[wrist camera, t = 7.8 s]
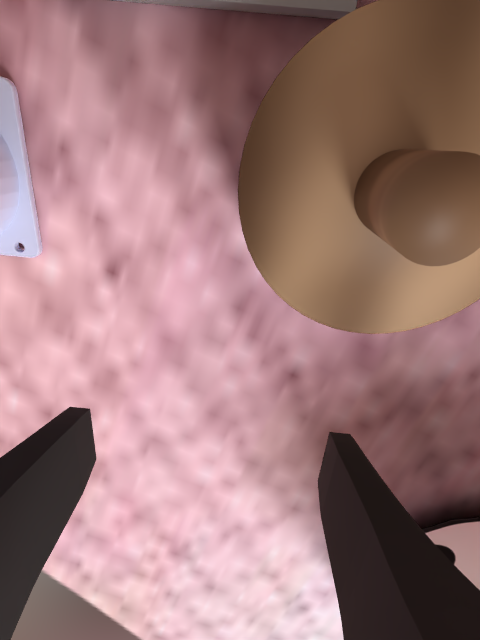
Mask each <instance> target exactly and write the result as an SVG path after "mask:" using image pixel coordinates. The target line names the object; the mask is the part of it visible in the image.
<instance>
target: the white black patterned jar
mask: <svg viewBox="0 0 480 640" xmlns="http://www.w3.org/2000/svg"><path fill="white" fill-rule="evenodd" d="M422 530H423V531H424V532H425V534H426V535H427V536H428V537H429V538H430V539H431V540H432V542H433V543H434V544H435V545H436V546H437V547H438V548H439V549H440V550H441V551H442V552H443V553H444V554H445V556H446V557H447V558H448V559H449V560H450V561H451V562H452V563H453V564H454V565H455V566H456V567H457V568H458V569H459V570H460V571H461V572H462V573H463V574H464V575H465V576H466V577H467V578H468V579H469V580H470V581H471V582H472V583H473V584H474V585H475V586H476V587H477V588H478V589H479V590H480V517H479V518H472V519H456V520H450V521H446V522H443V523H440V524H438V525H435V526H432V527H428V528H424V529H422Z"/></svg>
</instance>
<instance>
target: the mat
mask: <svg viewBox="0 0 480 640" xmlns="http://www.w3.org/2000/svg"><path fill="white" fill-rule="evenodd" d="M112 1H124V2H136V3H148V4H160V5H172V6H184V7H196V8H208V9H220V10H232V11H244V12H256V13H268V14H280V15H292V16H304V17H317V18H329V19H340V18H342V17H344V16H345V15H347V14H349V13H351V12H352V11H354V10H356V5H357V0H112Z"/></svg>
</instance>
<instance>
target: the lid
mask: <svg viewBox="0 0 480 640" xmlns="http://www.w3.org/2000/svg"><path fill="white" fill-rule="evenodd" d="M238 200H239V214H240V220H241V225H242V231H243V234H244V237H245V241H246V244H247V247H248V250H249V252H250V254H251V256H252V258H253V261H254V263H255V265H256V267H257V268H258V270H259V271H260V273H261V275H262V276H263V278H264V279H265V281H266V282H267V283H268V284H269V286H270V287H271V288H272V289H273V290H274V291H275V293H276V294H277V295H278V296H279V297H281V298H282V299H283V300H284V301H285V302H286V303H287V304H288V305H289V306H291V307H292V308H294V309H295V310H297V311H298V312H300V313H301V314H303V315H304V316H306V317H308V318H310V319H312V320H314V321H316V322H318V323H321V324H324V325H326V326H329V327H332V328H335V329H340V330H344V331H349V332H356V333H367V334H380V333H393V332H401V331H407V330H411V329H415V328H419V327H423V326H426V325H429V324H431V323H434V322H437V321H440V320H442V319H444V318H446V317H449V316H451V315H453V314H455V313H457V312H459V311H461V310H462V309H464V308H466V307H467V306H469V305H471V304H472V303H474V302H476V301H477V300H478V299H480V0H378V1H375V2H373V3H370V4H368V5H365V6H363V7H360V8H358V9H356V10H354V11H352V12H351V13H349V14H347V15H345V16H344V17H342V18H340V19H338V20H337V21H335V22H333V23H332V24H331V25H329V26H328V27H327V28H325V29H324V30H323V31H321V32H320V33H319V34H317V35H316V36H315V37H313V38H312V39H311V40H310V41H309V42H308V43H307V44H306V45H305V46H304V47H303V48H302V49H301V50H300V51H299V52H298V53H297V54H296V55H295V56H294V57H293V58H292V59H291V60H290V61H289V63H288V64H287V65H286V66H285V68H284V69H283V70H282V71H281V73H280V74H279V75H278V76H277V78H276V79H275V81H274V82H273V84H272V86H271V87H270V89H269V90H268V92H267V94H266V95H265V97H264V98H263V100H262V102H261V104H260V106H259V109H258V111H257V113H256V115H255V117H254V119H253V121H252V124H251V127H250V130H249V133H248V136H247V139H246V142H245V145H244V150H243V155H242V160H241V165H240V171H239V184H238Z"/></svg>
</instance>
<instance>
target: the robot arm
mask: <svg viewBox="0 0 480 640" xmlns="http://www.w3.org/2000/svg"><path fill="white" fill-rule="evenodd" d="M19 243H21V244H23V245H24V248H25V251H24V250H22V249H21V248H20V246H19ZM41 252H42V242H41V236H40V230H39V224H38V217H37V211H36V205H35V199H34V193H33V186H32V180H31V174H30V168H29V161H28V155H27V149H26V143H25V137H24V130H23V124H22V118H21V112H20V105H19V99H18V93H17V89H16V86H15V85H14V83H13V82H12V81H11V80H9V79H8V78H5V77H1V76H0V255H8V256H19V257H30V258H32V257H36V256H38V255H40V254H41ZM95 461H96V452H95V444H94V436H93V429H92V421H91V413H90V409H86V408H76V407H69V408H68V409H66V410H65V411H64V412H62V413H61V414H59V415H58V416H57V417H55V418H54V419H53V420H51V421H50V422H49V423H47V424H46V425H45V426H43V427H42V428H41V429H39V430H38V431H37V432H35V433H34V434H33V435H31V436H30V437H28V438H27V439H26V440H24V441H23V442H22V443H20V444H19V445H17V446H16V447H15V448H13V449H12V450H11V451H9V452H8V453H6V454H5V455H4V456H2V457H1V458H0V640H11V637H12V635H13V632H14V630H15V628H16V625H17V623H18V621H19V618H20V616H21V614H22V611H23V609H24V607H25V604H26V602H27V600H28V597H29V595H30V593H31V591H32V588H33V586H34V584H35V582H36V580H37V578H38V576H39V574H40V572H41V570H42V568H43V567H44V565H45V563H46V561H47V559H48V557H49V556H50V554H51V552H52V550H53V548H54V546H55V544H56V543H57V541H58V539H59V537H60V535H61V533H62V531H63V530H64V528H65V526H66V524H67V522H68V520H69V518H70V517H71V515H72V513H73V511H74V509H75V507H76V505H77V503H78V502H79V500H80V498H81V496H82V494H83V492H84V489H85V487H86V484H87V482H88V480H89V477H90V474H91V472H92V469H93V467H94V464H95ZM318 490H319V502H320V511H321V519H322V524H323V529H324V534H325V539H326V544H327V549H328V554H329V559H330V563H331V568H332V573H333V578H334V583H335V588H336V593H337V597H338V603H339V608H340V614H341V620H342V628H343V636H344V640H480V590H479V589H478V588H477V587H476V586H475V585H474V584H473V583H472V582H471V581H470V580H469V579H468V578H467V577H466V576H465V575H464V574H463V573H462V572H461V571H460V570H459V569H458V568H457V567H456V566H455V565H454V564H453V563H452V562H451V561H450V560H449V559H448V558H447V557H446V556H445V554H444V553H443V552H442V551H441V550H440V549H439V548H438V547H437V546H436V545H435V544H434V543H433V542H432V540H431V539H430V538H429V537H428V536H427V535H426V534H425V532H424V531H423V530H422V529H421V528H420V527H419V525H418V524H417V523H416V522H415V521H414V519H413V518H412V517H411V516H410V515H409V513H408V512H407V511H406V510H405V508H404V507H403V506H402V505H401V503H400V502H399V501H398V499H397V498H396V497H395V496H394V494H393V493H392V492H391V490H390V489H389V488H388V486H387V485H386V484H385V482H384V481H383V480H382V478H381V477H380V476H379V474H378V473H377V471H376V470H375V469H374V467H373V466H372V464H371V463H370V462H369V460H368V459H367V457H366V456H365V454H364V453H363V452H362V450H361V449H360V447H359V446H358V444H357V443H356V441H355V440H354V439H353V437H352V436H351V435H350V434H343V433H333V432H329V436H328V441H327V445H326V449H325V453H324V457H323V461H322V466H321V470H320V474H319V478H318Z"/></svg>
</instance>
